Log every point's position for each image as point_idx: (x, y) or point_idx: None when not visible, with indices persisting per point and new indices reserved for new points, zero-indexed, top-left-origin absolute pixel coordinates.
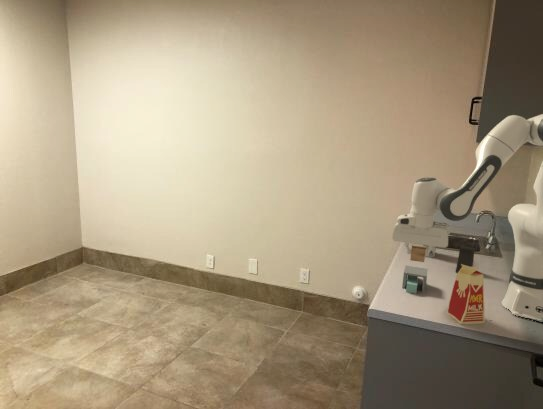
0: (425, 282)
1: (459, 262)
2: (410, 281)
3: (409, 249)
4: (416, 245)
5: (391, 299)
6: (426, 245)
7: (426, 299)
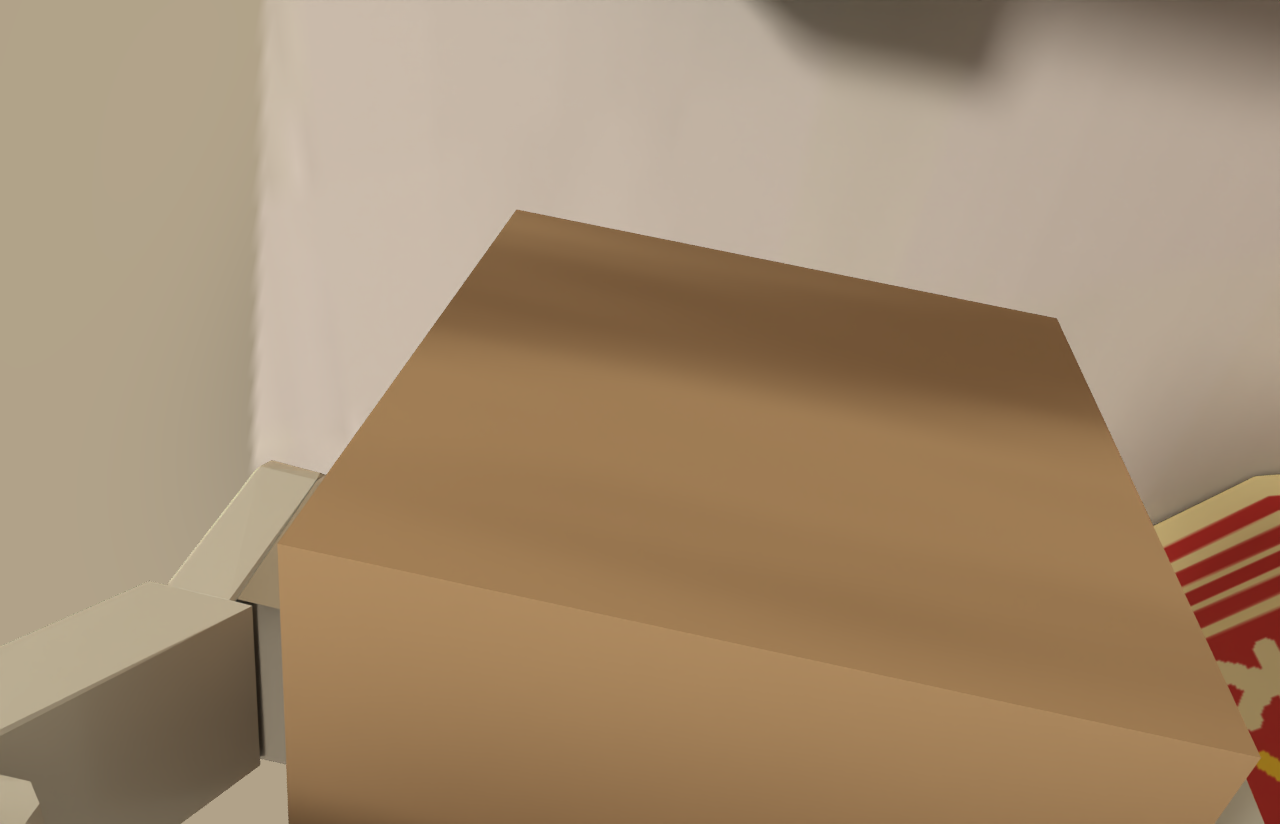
0: None
1: None
2: None
3: (276, 718)
4: (596, 661)
5: (434, 282)
6: None
7: (980, 166)
